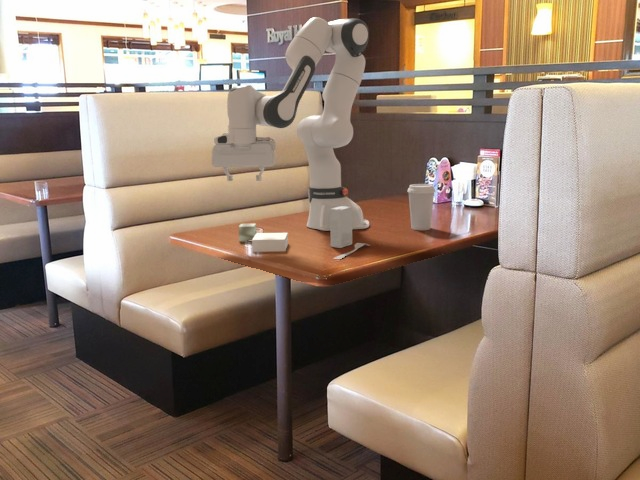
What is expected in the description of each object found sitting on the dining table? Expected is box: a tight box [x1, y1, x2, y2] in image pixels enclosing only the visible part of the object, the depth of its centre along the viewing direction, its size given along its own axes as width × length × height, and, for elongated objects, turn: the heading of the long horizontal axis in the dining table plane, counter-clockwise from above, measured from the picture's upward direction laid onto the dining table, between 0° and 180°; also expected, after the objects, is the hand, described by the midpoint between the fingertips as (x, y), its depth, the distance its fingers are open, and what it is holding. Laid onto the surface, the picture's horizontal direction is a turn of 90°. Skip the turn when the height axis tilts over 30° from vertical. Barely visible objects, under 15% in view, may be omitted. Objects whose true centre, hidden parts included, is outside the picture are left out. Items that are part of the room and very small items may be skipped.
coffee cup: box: [407, 183, 436, 231], centre depth 218 cm, size 10×10×15 cm
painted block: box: [251, 232, 289, 253], centre depth 197 cm, size 10×10×4 cm
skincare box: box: [329, 206, 353, 249], centre depth 196 cm, size 6×4×12 cm
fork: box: [332, 242, 371, 260], centre depth 189 cm, size 3×21×3 cm, turn 148°
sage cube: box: [238, 223, 258, 242], centre depth 209 cm, size 5×5×5 cm
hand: (244, 180), depth 206 cm, fingers open, 8 cm apart
